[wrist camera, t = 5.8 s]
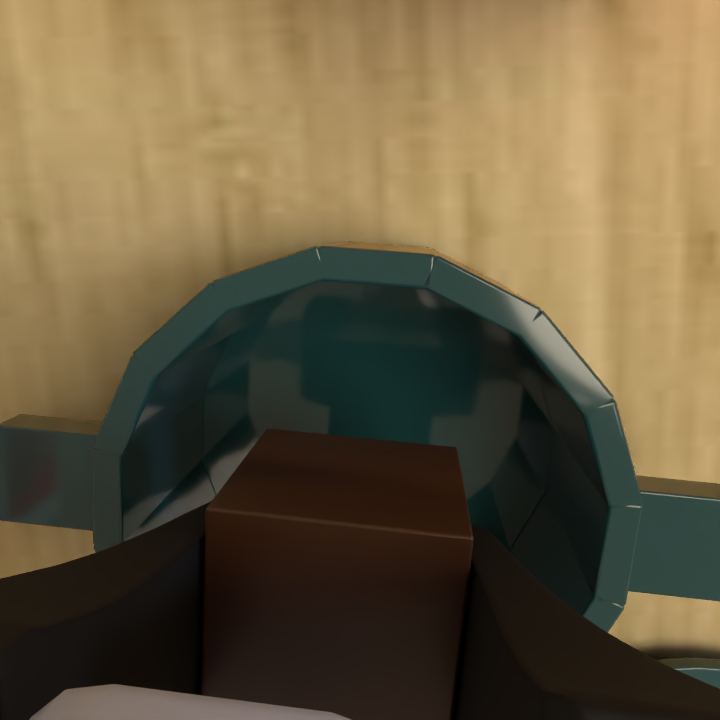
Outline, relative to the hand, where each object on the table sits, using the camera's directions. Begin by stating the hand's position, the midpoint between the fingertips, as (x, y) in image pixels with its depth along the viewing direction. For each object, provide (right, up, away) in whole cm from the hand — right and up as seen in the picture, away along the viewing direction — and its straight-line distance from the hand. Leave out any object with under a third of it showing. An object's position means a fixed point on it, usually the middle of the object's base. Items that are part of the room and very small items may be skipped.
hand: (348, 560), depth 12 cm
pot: (+1, +1, +7) cm, 7 cm away
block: (0, 0, +1) cm, 1 cm away
